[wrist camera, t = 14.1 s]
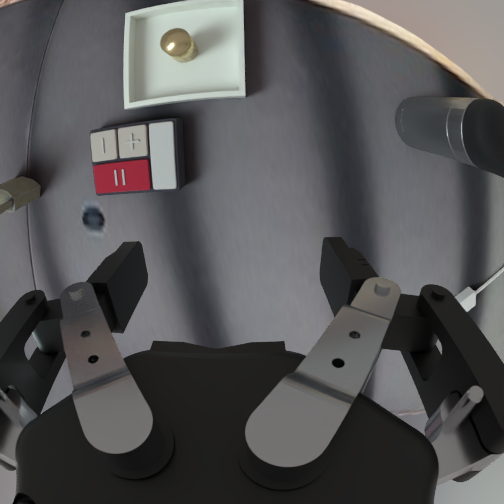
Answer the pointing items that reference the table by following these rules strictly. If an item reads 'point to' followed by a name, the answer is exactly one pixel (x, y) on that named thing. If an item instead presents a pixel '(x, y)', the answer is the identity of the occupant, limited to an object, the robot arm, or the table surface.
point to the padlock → (18, 193)
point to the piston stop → (179, 45)
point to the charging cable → (473, 294)
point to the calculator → (139, 157)
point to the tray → (190, 73)
